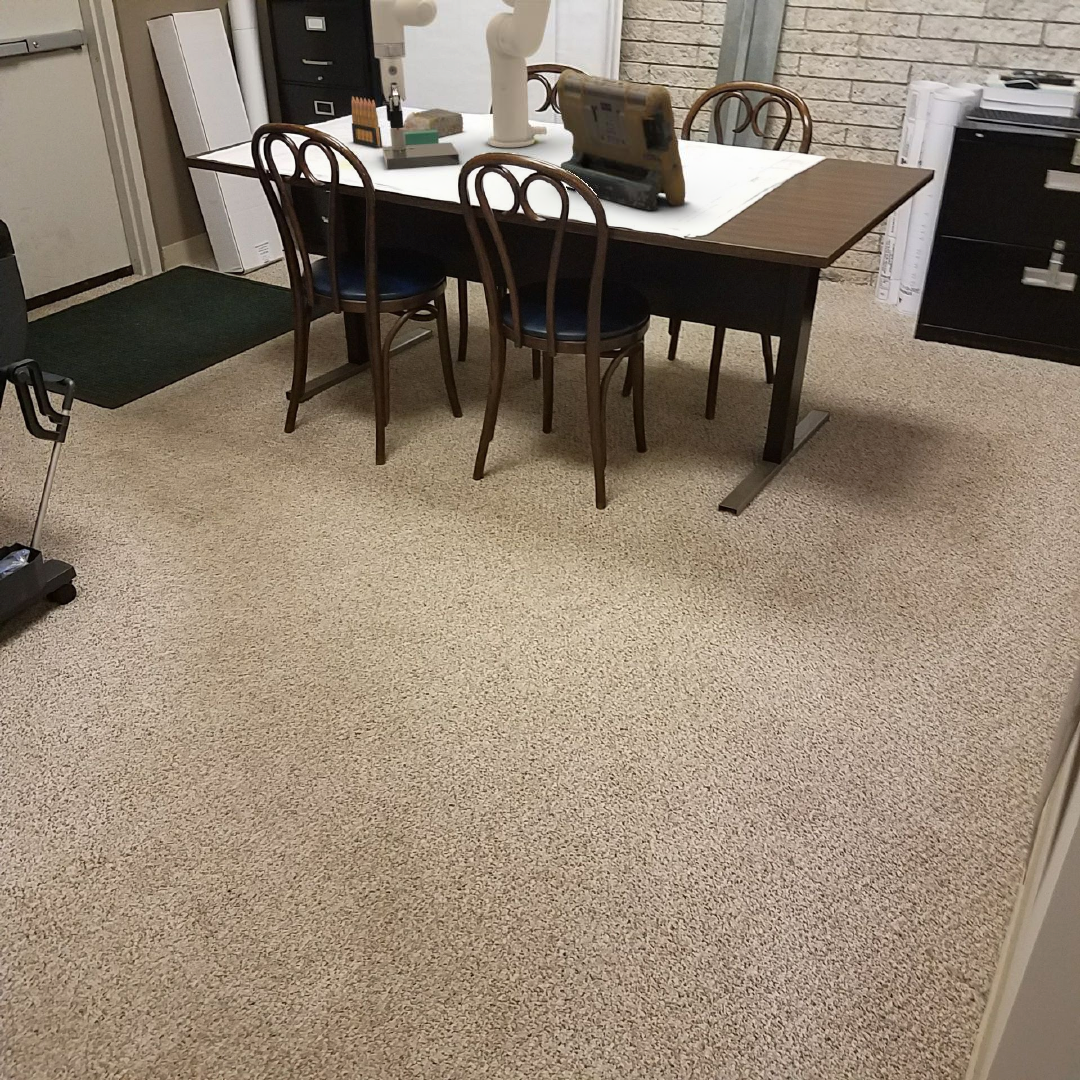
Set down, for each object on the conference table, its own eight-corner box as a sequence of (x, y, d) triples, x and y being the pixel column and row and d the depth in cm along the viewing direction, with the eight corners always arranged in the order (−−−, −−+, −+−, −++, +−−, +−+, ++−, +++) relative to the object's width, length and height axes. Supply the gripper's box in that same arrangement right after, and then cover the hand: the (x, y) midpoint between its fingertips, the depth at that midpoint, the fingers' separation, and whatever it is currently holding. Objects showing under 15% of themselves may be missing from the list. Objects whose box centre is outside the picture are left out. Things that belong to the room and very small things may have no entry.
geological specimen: (465, 112, 298) (426, 118, 288) (465, 135, 301) (426, 141, 291) (438, 107, 304) (399, 112, 294) (438, 129, 307) (400, 135, 297)
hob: (451, 152, 279) (451, 141, 277) (459, 164, 267) (458, 153, 266) (383, 157, 276) (382, 146, 274) (387, 169, 264) (386, 158, 263)
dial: (391, 148, 273) (389, 126, 270) (405, 147, 273) (403, 125, 271) (392, 151, 270) (390, 129, 267) (406, 150, 270) (404, 128, 268)
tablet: (696, 200, 233) (703, 78, 219) (655, 214, 225) (659, 87, 211) (588, 177, 253) (588, 63, 239) (547, 188, 245) (544, 71, 231)
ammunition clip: (382, 146, 286) (377, 99, 279) (377, 148, 285) (372, 100, 278) (358, 141, 292) (353, 95, 286) (353, 142, 291) (347, 96, 285)
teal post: (439, 147, 284) (438, 132, 282) (393, 150, 282) (392, 135, 280) (437, 144, 287) (436, 129, 285) (392, 147, 285) (391, 132, 283)
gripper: (408, 54, 253) (413, 130, 262) (401, 45, 267) (406, 117, 276) (376, 55, 251) (383, 131, 260) (372, 46, 266) (378, 118, 275)
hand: (395, 124), depth 268 cm, fingers open, 9 cm apart
